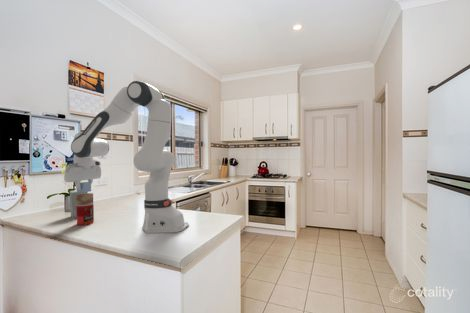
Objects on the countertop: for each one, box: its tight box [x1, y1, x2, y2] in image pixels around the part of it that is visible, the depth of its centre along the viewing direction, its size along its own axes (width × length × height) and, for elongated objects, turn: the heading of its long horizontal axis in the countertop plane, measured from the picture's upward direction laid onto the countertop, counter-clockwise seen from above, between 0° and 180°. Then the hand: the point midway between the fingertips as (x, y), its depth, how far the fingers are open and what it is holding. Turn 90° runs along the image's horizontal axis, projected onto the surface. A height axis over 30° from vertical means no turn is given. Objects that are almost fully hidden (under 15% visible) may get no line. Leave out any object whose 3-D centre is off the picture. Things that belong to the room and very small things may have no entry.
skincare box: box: [69, 189, 88, 219], centre depth 140 cm, size 8×7×16 cm
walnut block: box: [76, 192, 94, 205], centre depth 123 cm, size 6×6×5 cm
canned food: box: [76, 202, 95, 226], centre depth 123 cm, size 8×8×11 cm
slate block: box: [76, 181, 92, 193], centre depth 123 cm, size 4×4×5 cm
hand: (84, 188), depth 123 cm, fingers closed on slate block, 4 cm apart
